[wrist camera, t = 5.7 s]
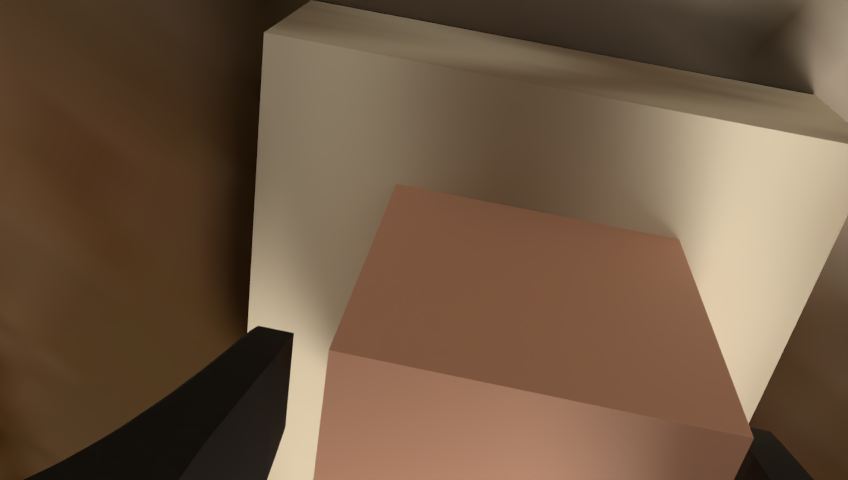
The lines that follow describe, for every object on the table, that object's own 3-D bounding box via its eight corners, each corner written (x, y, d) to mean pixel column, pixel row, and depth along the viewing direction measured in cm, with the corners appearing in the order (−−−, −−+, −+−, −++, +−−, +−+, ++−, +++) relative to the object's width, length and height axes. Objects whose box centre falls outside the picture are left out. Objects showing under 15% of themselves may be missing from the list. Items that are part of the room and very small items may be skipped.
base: (815, 95, 15) (878, 150, 12) (659, 470, 19) (679, 569, 17) (311, -1, 15) (264, 32, 12) (278, 390, 20) (239, 474, 17)
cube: (679, 240, 13) (754, 437, 9) (602, 451, 15) (630, 693, 11) (396, 183, 13) (328, 349, 9) (363, 401, 16) (296, 619, 11)
